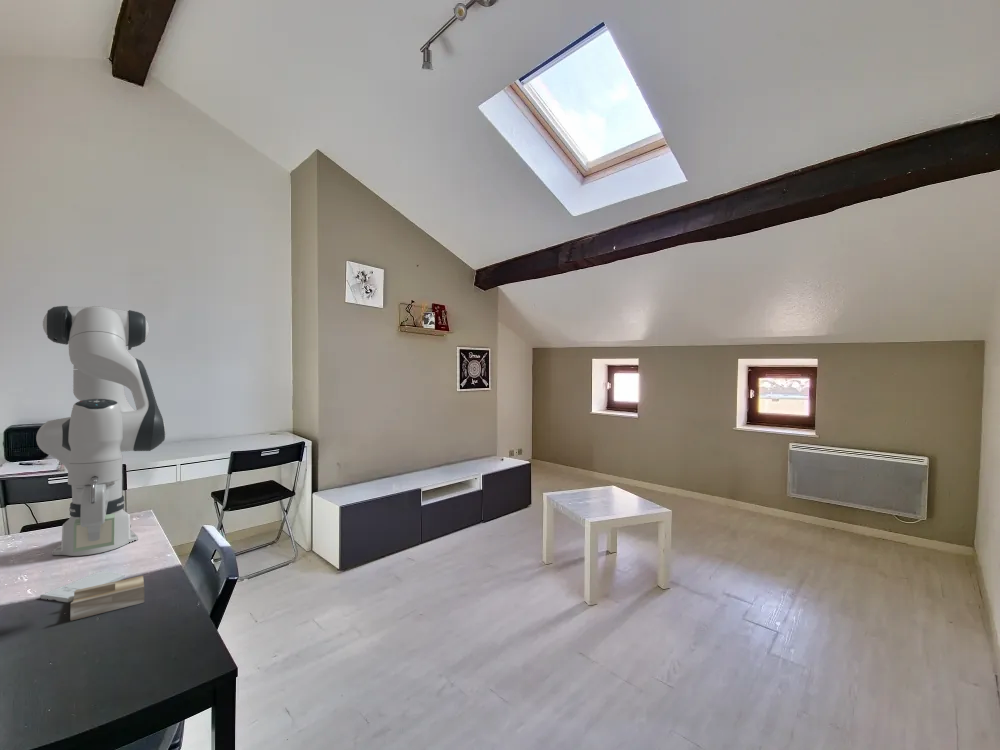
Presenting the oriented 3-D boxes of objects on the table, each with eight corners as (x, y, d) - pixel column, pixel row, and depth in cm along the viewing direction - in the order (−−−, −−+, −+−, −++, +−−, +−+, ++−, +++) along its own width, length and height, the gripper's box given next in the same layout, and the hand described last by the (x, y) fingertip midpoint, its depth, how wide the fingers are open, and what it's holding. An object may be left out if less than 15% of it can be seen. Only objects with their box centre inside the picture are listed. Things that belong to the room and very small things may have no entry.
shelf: (75, 598, 101) (75, 583, 101) (143, 583, 109) (143, 568, 109) (70, 621, 92) (70, 603, 92) (144, 602, 100) (144, 586, 100)
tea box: (75, 546, 96) (75, 519, 96) (114, 539, 100) (114, 513, 101) (73, 552, 93) (73, 523, 93) (114, 545, 97) (114, 517, 97)
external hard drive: (124, 580, 112) (67, 604, 99) (99, 577, 113) (40, 601, 101) (125, 573, 112) (68, 597, 99) (99, 570, 113) (40, 593, 101)
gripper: (113, 479, 91) (112, 546, 91) (116, 464, 107) (115, 521, 107) (71, 484, 87) (70, 554, 87) (80, 467, 103) (79, 527, 103)
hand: (95, 536), depth 97 cm, fingers closed on tea box, 4 cm apart
